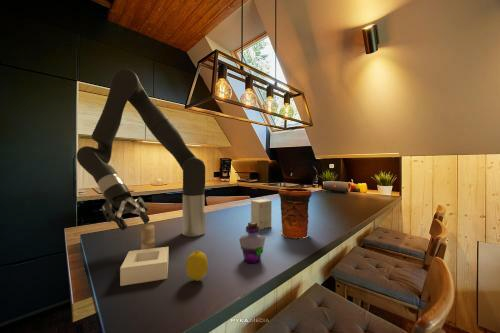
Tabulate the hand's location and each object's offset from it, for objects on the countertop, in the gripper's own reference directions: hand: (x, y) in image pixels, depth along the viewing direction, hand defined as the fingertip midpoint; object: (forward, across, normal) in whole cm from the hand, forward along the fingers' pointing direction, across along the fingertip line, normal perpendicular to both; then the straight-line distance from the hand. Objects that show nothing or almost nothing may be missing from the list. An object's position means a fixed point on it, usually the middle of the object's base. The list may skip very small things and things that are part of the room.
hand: (136, 225), depth 73 cm
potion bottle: (+34, +12, -20) cm, 41 cm away
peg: (+10, 0, +3) cm, 11 cm away
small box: (+27, +46, -13) cm, 55 cm away
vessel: (+38, +43, -25) cm, 63 cm away
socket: (+16, -7, -3) cm, 18 cm away
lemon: (+27, -5, -14) cm, 31 cm away
